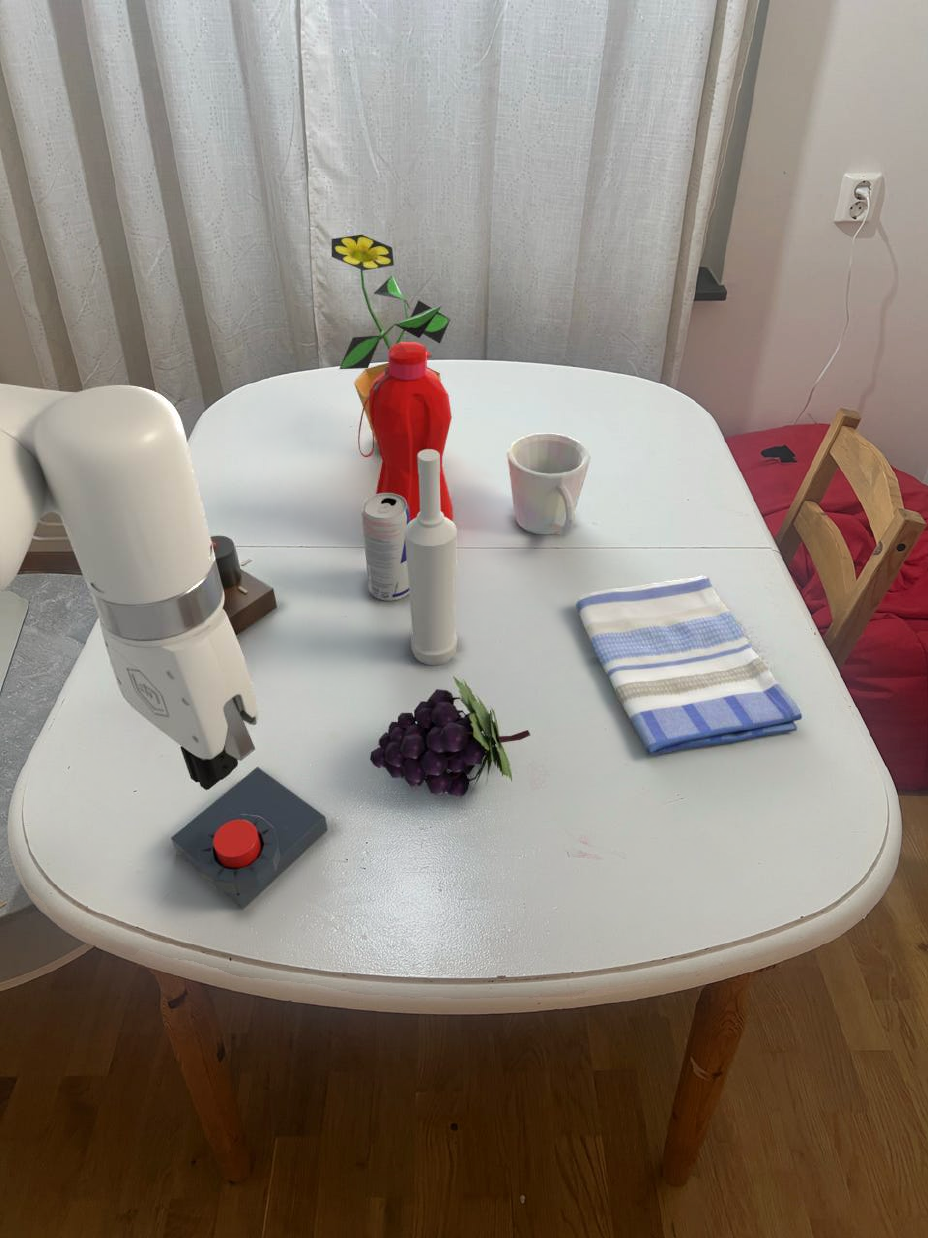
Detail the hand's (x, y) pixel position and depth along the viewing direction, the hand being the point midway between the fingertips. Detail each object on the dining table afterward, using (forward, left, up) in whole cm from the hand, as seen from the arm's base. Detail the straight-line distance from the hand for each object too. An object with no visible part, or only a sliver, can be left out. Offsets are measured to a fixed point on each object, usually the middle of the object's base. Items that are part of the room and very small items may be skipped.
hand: (215, 772), depth 65 cm
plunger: (0, 0, -11) cm, 11 cm away
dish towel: (+46, -17, -14) cm, 52 cm away
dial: (+23, +30, -11) cm, 39 cm away
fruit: (+19, -7, -14) cm, 25 cm away
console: (+20, +29, -14) cm, 38 cm away
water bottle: (+46, +22, -14) cm, 53 cm away
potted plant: (+62, +37, -14) cm, 74 cm away
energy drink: (+36, +16, -14) cm, 42 cm away
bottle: (+31, +5, -14) cm, 35 cm away
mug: (+58, +8, -14) cm, 61 cm away
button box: (+2, +2, -14) cm, 14 cm away
